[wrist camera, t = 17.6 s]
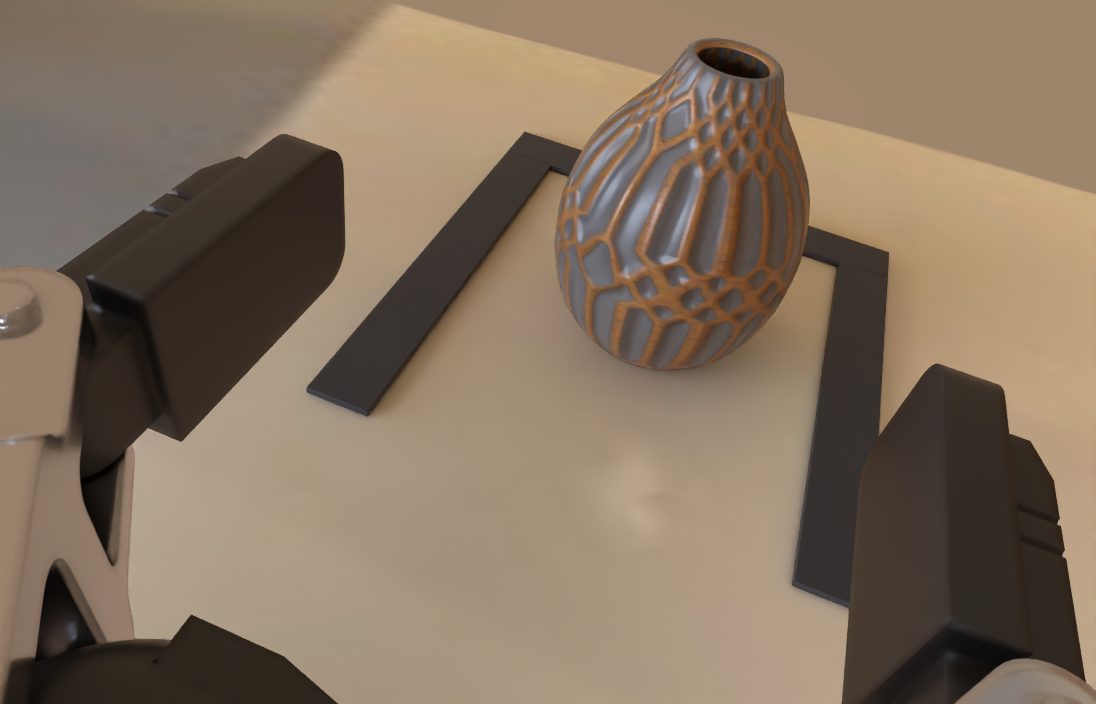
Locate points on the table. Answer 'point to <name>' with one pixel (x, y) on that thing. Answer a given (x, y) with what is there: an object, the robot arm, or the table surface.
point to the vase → (686, 212)
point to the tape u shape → (846, 371)
